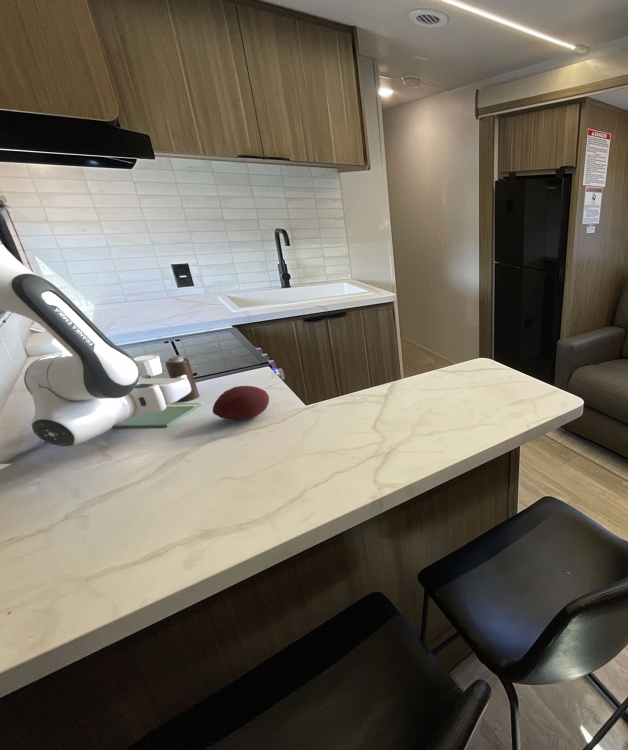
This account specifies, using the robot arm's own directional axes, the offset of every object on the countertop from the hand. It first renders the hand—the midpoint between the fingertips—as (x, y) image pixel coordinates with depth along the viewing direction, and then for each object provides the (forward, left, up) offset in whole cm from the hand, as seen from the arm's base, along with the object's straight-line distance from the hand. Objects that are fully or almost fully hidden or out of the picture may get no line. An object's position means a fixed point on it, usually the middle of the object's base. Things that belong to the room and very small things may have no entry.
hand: (166, 377), depth 106 cm
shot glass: (-22, +20, -8) cm, 30 cm away
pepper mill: (0, +4, -8) cm, 9 cm away
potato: (+24, -8, -8) cm, 27 cm away
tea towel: (0, -6, -8) cm, 10 cm away
